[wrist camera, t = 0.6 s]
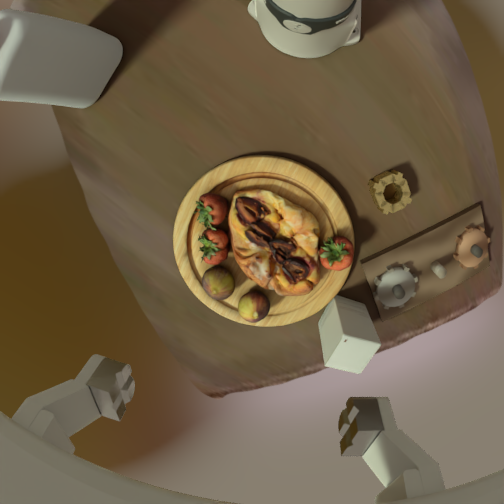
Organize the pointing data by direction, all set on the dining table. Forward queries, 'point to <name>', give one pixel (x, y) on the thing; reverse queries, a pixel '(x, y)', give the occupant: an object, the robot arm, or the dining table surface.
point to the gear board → (428, 263)
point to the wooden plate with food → (263, 240)
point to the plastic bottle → (54, 60)
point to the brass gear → (400, 196)
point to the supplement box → (347, 335)
